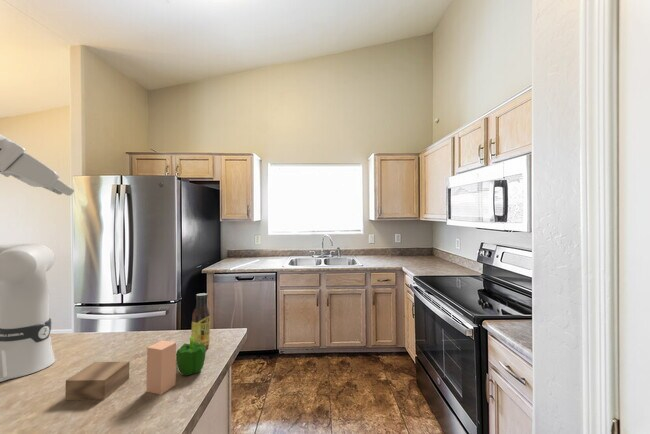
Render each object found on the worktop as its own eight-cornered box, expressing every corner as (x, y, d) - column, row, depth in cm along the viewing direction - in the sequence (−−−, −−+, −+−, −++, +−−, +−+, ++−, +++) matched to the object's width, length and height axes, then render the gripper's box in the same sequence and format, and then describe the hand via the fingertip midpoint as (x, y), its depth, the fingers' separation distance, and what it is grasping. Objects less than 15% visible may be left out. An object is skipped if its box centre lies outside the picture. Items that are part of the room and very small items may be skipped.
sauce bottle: (202, 353, 102) (203, 297, 103) (187, 351, 103) (187, 296, 104) (213, 345, 109) (213, 292, 109) (198, 344, 110) (198, 291, 110)
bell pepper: (200, 378, 86) (200, 344, 86) (171, 379, 85) (172, 345, 86) (209, 364, 94) (209, 333, 95) (183, 365, 94) (184, 334, 94)
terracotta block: (161, 394, 78) (161, 349, 78) (146, 391, 79) (147, 347, 79) (175, 384, 83) (176, 342, 83) (161, 381, 84) (162, 340, 84)
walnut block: (65, 399, 75) (65, 380, 75) (94, 379, 85) (95, 361, 85) (104, 399, 76) (104, 380, 76) (129, 378, 86) (129, 361, 86)
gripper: (-16, 169, 71) (49, 201, 81) (-7, 166, 59) (68, 204, 68) (5, 149, 73) (65, 183, 83) (18, 143, 61) (86, 183, 71)
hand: (66, 193), depth 76 cm, fingers open, 8 cm apart
